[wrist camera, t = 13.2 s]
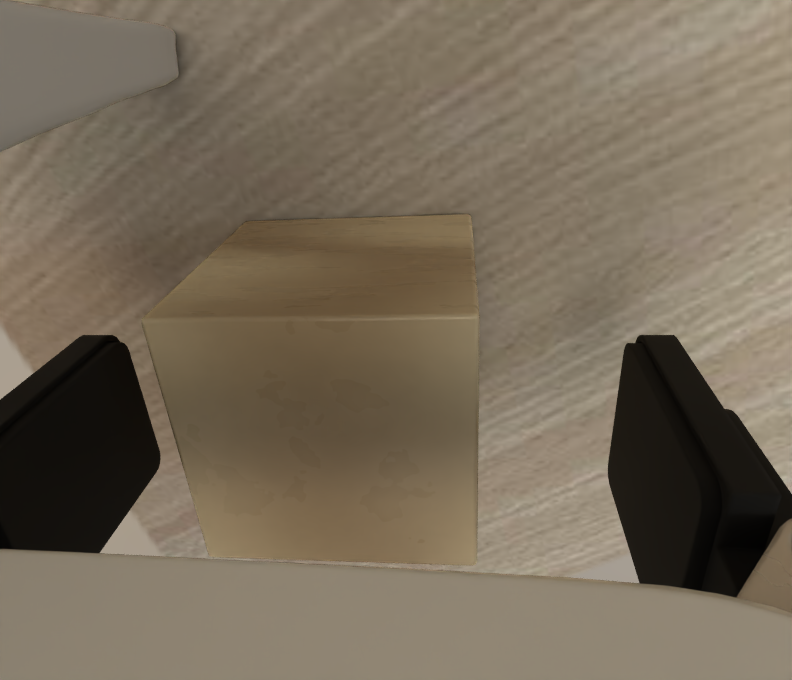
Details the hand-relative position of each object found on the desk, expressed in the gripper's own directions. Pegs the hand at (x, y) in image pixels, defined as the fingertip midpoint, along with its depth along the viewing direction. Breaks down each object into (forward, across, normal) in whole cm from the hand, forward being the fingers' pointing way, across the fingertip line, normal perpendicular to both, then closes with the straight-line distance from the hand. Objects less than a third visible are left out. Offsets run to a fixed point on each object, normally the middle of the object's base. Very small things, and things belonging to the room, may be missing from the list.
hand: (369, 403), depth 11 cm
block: (+3, +1, 0) cm, 3 cm away
